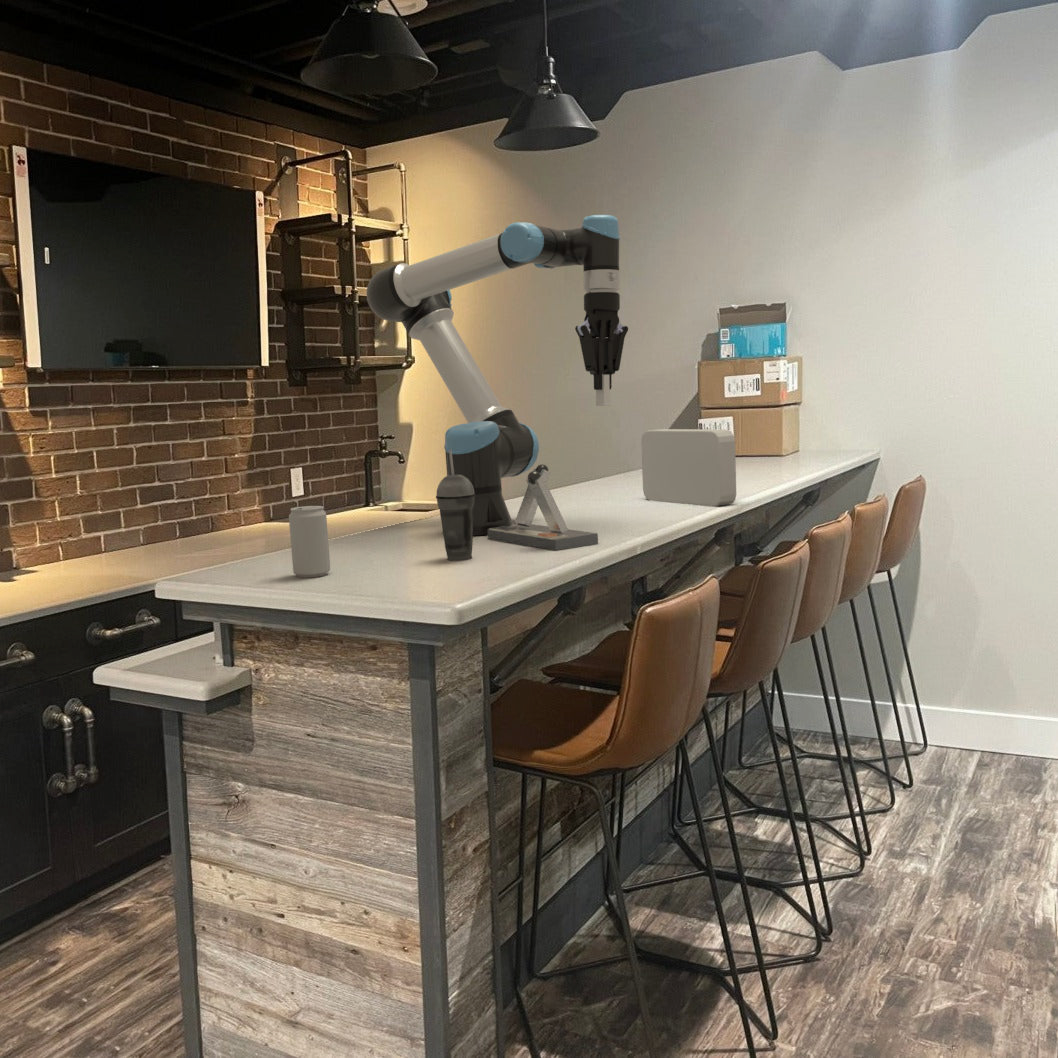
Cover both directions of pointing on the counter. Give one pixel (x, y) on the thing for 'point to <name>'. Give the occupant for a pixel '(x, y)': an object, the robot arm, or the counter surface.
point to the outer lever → (546, 502)
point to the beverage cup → (456, 514)
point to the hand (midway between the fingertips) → (602, 405)
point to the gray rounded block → (689, 466)
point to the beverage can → (309, 541)
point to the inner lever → (530, 501)
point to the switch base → (542, 537)
